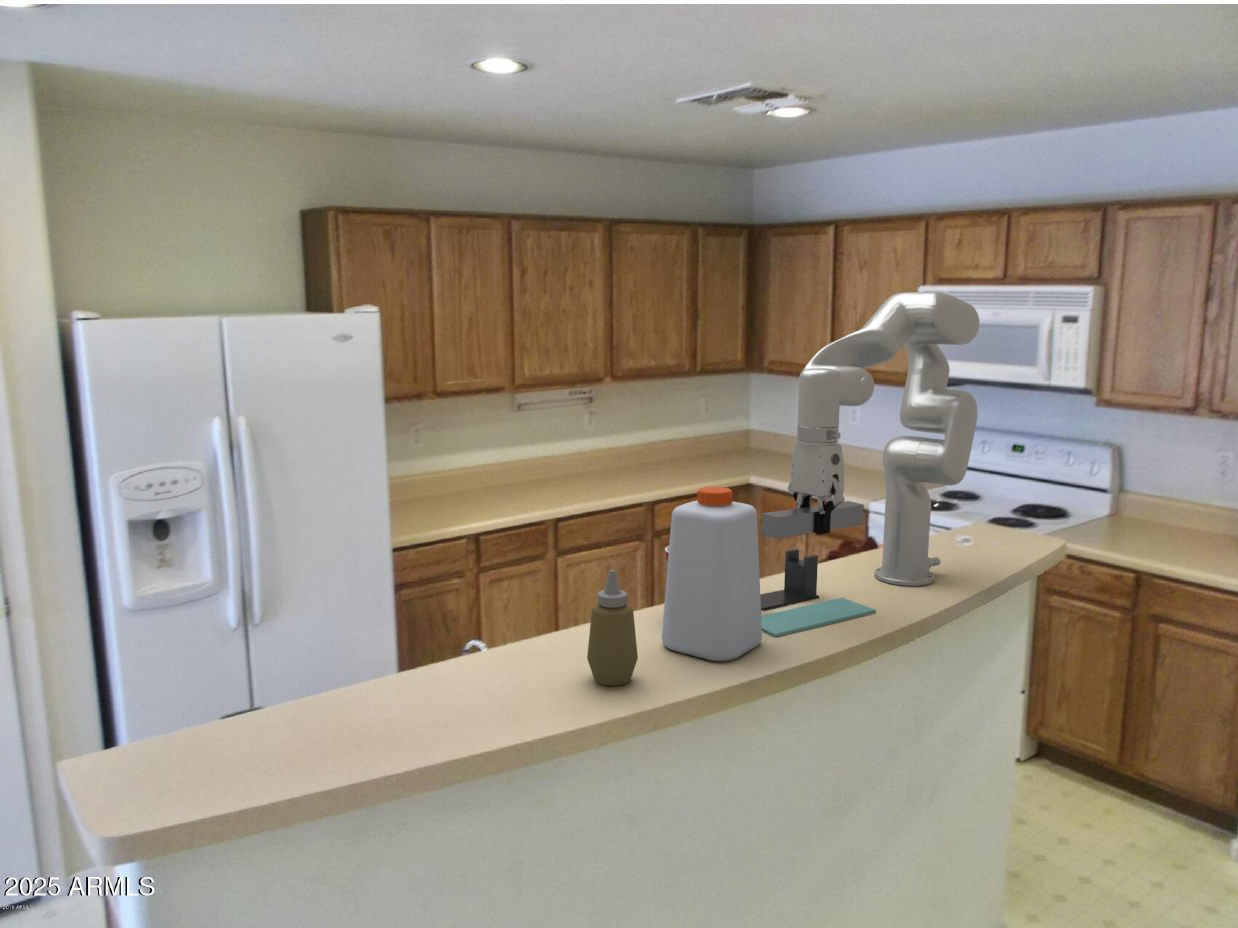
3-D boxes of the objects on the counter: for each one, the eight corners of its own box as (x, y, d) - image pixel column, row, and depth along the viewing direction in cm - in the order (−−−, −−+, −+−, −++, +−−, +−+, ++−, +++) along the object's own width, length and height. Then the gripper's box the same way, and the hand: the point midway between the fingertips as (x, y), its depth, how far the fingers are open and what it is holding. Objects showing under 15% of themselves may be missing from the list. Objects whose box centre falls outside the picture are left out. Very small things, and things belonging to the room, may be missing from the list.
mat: (842, 600, 184) (842, 597, 184) (875, 612, 176) (875, 609, 176) (742, 622, 170) (743, 619, 170) (774, 637, 163) (775, 634, 163)
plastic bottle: (727, 668, 148) (731, 502, 144) (652, 647, 157) (653, 490, 153) (770, 641, 160) (775, 487, 156) (698, 624, 169) (700, 478, 165)
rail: (847, 520, 178) (848, 501, 177) (862, 524, 174) (863, 504, 174) (761, 534, 166) (762, 513, 166) (776, 539, 163) (777, 517, 162)
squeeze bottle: (579, 674, 146) (579, 567, 143) (625, 666, 149) (625, 561, 146) (598, 693, 138) (598, 580, 135) (646, 685, 142) (646, 574, 139)
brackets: (795, 589, 191) (797, 548, 189) (819, 598, 185) (820, 555, 184) (721, 605, 181) (722, 561, 179) (743, 614, 175) (744, 570, 173)
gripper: (865, 439, 162) (860, 537, 165) (801, 429, 176) (797, 520, 179) (835, 442, 158) (831, 543, 161) (772, 431, 172) (769, 524, 175)
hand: (813, 530), depth 170 cm, fingers closed on rail, 4 cm apart
